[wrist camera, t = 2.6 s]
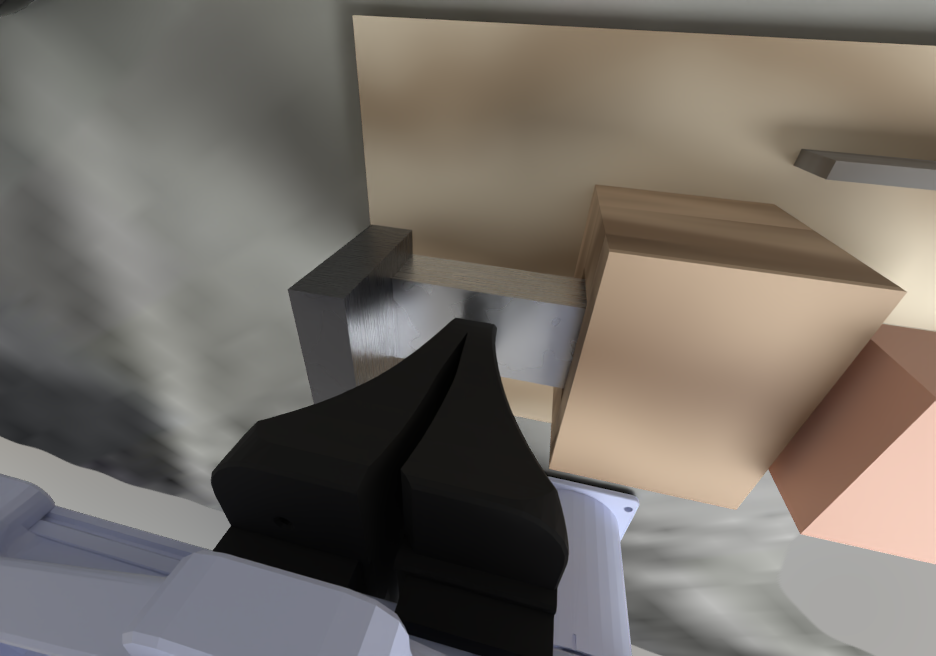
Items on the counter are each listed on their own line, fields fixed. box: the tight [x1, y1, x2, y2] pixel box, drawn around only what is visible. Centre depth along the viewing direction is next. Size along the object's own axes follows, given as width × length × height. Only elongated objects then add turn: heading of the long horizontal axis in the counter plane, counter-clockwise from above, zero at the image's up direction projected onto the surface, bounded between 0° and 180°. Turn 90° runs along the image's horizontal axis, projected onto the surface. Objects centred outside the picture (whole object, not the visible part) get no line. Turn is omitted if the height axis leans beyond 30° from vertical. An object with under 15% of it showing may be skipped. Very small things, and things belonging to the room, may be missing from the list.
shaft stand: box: [353, 15, 936, 510], centre depth 13 cm, size 17×29×8 cm, turn 87°
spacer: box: [769, 324, 936, 564], centre depth 10 cm, size 5×5×3 cm
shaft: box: [288, 225, 936, 404], centre depth 12 cm, size 5×20×5 cm, turn 87°
